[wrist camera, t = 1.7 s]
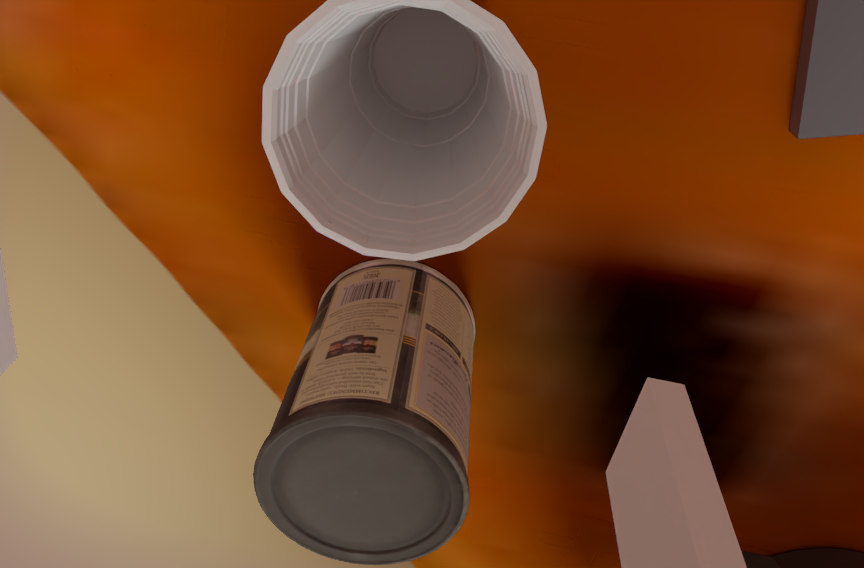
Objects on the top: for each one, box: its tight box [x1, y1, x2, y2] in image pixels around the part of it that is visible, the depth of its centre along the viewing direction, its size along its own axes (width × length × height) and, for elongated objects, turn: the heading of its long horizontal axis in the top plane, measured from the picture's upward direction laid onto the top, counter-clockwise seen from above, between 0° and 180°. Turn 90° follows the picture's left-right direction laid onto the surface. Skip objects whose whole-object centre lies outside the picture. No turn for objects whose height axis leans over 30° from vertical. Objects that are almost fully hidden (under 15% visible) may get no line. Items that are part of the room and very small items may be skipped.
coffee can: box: [253, 259, 475, 565], centre depth 40 cm, size 10×10×14 cm
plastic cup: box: [262, 0, 547, 261], centre depth 32 cm, size 11×11×12 cm
